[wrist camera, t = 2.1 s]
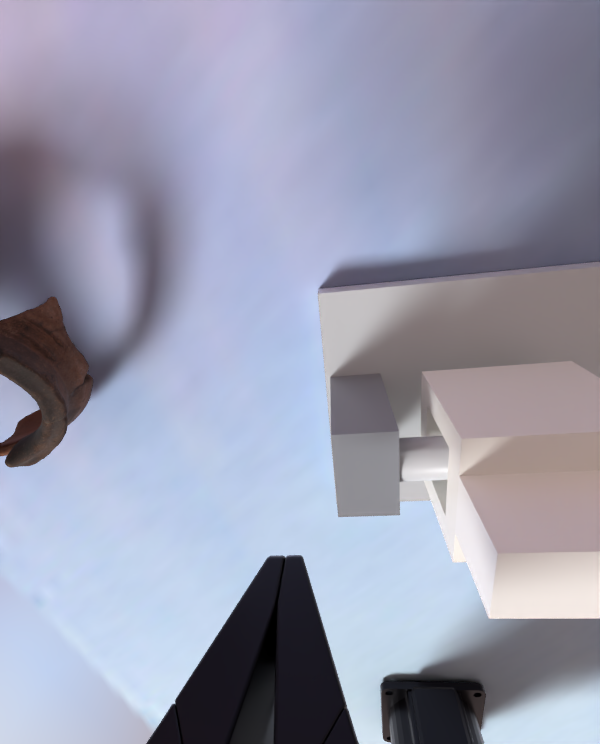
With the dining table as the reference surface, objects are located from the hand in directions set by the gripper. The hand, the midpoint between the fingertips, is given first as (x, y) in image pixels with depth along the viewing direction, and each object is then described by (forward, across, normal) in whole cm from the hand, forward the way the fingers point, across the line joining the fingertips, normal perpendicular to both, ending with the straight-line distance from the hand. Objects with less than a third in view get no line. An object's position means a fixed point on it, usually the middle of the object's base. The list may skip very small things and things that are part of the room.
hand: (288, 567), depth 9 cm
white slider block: (+6, -7, 0) cm, 9 cm away
